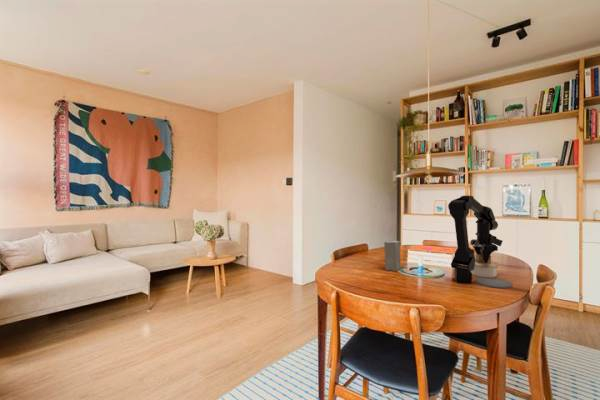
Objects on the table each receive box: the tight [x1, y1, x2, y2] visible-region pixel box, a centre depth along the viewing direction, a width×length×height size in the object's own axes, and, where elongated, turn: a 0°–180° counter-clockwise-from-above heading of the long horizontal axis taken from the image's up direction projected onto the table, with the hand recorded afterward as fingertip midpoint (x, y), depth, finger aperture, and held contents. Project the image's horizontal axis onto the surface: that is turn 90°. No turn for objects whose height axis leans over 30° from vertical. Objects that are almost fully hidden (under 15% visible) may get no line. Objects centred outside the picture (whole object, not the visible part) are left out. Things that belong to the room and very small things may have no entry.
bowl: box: [471, 266, 498, 278], centre depth 156 cm, size 11×11×5 cm
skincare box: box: [383, 240, 402, 272], centre depth 169 cm, size 8×7×16 cm
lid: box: [475, 254, 499, 268], centre depth 156 cm, size 13×13×5 cm
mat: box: [474, 276, 513, 289], centre depth 141 cm, size 15×15×1 cm
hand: (483, 261), depth 156 cm, fingers open, 6 cm apart
